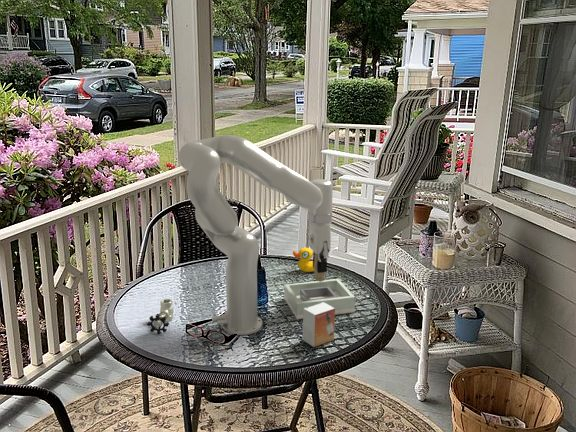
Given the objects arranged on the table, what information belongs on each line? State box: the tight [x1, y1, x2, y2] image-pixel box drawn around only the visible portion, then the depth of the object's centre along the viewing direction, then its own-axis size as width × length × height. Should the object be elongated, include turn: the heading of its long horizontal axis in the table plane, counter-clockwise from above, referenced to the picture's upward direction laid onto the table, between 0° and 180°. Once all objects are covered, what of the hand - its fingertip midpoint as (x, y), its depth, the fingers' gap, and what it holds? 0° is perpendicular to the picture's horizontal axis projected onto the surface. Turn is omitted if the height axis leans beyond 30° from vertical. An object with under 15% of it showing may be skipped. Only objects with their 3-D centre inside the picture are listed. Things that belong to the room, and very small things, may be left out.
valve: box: [146, 298, 174, 335], centre depth 167 cm, size 7×7×12 cm
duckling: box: [292, 247, 314, 273], centre depth 210 cm, size 11×5×10 cm, turn 95°
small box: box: [302, 302, 336, 348], centre depth 158 cm, size 8×6×10 cm
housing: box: [283, 278, 356, 320], centre depth 181 cm, size 20×16×6 cm
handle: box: [311, 238, 326, 282], centre depth 178 cm, size 5×6×15 cm
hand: (319, 269), depth 179 cm, fingers closed on handle, 3 cm apart
